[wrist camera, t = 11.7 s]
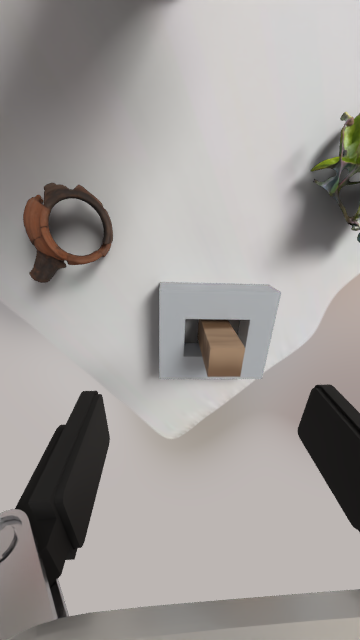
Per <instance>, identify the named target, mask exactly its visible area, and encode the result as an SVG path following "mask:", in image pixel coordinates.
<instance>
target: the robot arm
mask: <svg viewBox="0 0 360 640" xmlns="http://www.w3.org/2000/svg"><path fill="white" fill-rule="evenodd" d="M298 435H299V437H300V439H301V441H302V443H303V444H304V446H305V448H306V449H307V451H308V453H309V454H310V456H311V458H312V459H313V461H314V463H315V464H316V466H317V468H318V469H319V471H320V473H321V474H322V476H323V478H324V479H325V481H326V483H327V484H328V486H329V488H330V489H331V491H332V493H333V494H334V496H335V498H336V499H337V501H338V503H339V504H340V506H341V508H342V509H343V511H344V513H345V515H346V516H347V518H348V520H349V521H350V523H351V524H352V526H353V527H354V528H356V529H358V530H359V532H360V413H359V412H358V411H357V410H356V409H355V408H354V407H353V406H352V405H351V404H350V403H349V402H348V401H347V400H346V399H345V398H344V397H343V396H342V395H341V394H340V393H339V392H338V391H337V390H336V389H335V387H333V386H332V385H316V386H315V387H314V388H313V389H312V390H311V393H310V396H309V399H308V401H307V404H306V407H305V410H304V413H303V415H302V418H301V421H300V424H299V427H298ZM109 440H110V438H109V431H108V425H107V420H106V414H105V409H104V404H103V397H102V395H101V394H98V392H97V391H83V392H82V393H81V395H80V397H79V399H78V401H77V403H76V405H75V407H74V409H73V411H72V413H71V415H70V417H69V419H68V421H67V423H66V425H60V426H59V427H58V428H57V429H56V431H55V433H54V435H53V437H52V439H51V441H50V442H49V445H48V447H47V448H46V450H45V452H44V454H43V456H42V458H41V460H40V462H39V464H38V466H37V468H36V469H35V471H34V473H33V475H32V477H31V479H30V481H29V483H28V485H27V487H26V489H25V491H24V493H23V495H22V496H21V498H20V500H19V502H18V504H17V506H16V508H15V509H11V510H8V511H4V512H2V513H0V640H360V589H358V590H344V591H332V592H331V591H330V592H317V593H306V594H292V595H279V596H267V597H255V598H243V599H230V600H218V601H206V602H194V603H184V604H171V605H160V606H148V607H138V608H129V609H120V610H111V611H102V612H93V613H86V614H81V615H75V616H70V617H69V615H68V611H67V608H66V604H65V601H64V598H63V594H62V591H61V587H60V584H59V581H58V578H59V576H60V575H61V573H62V570H63V566H64V563H65V560H71V559H75V555H76V552H77V548H81V547H82V546H83V543H84V541H85V537H86V533H87V529H88V525H89V521H90V517H91V513H92V509H93V505H94V502H95V497H96V494H97V489H98V486H99V482H100V478H101V474H102V470H103V466H104V462H105V458H106V454H107V450H108V446H109Z"/></svg>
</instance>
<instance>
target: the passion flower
mask: <svg viewBox="0 0 360 640" xmlns="http://www.w3.org/2000/svg"><path fill="white" fill-rule="evenodd" d="M341 120H342V121H343V120H345V121H346V123H345V124H344V126H343V128H342V130H341V138H340V152H339V157H334V158H331V159H327V160H324V161H322V162H320V163H319V164H317V165H316V166H315V167H314V168H313V169H312V170H311V172H312V171H315V170H320V169H325V168H331V169H334V170H336V173H337V175H336V176H335V177H330V178H329V179H328V180H326V181H324V182H319V181H317V180H315V179H314V181H313V182H315V183H317V184H318V185H320V186H322V187H323V188H325V189H326V190H328V193H329V195H330V196H332V197H334V198H335V199H336V201H337V203H338V204H339V206H340V208H341V210H342V212H343V214H344V218H345V219H346V221H347V223H348V224H350V225H352V228H351V229H352V230H354V231H357V230H360V201H359V208H358V211H357V213H356V214H355V215H354V216H353V217H349V216H348V215H347V213H346V209H345V207H344V206H343V204H342V202H341V200H340V198H339V192H340V190H341V188H342V187H343V186H346V185H351V184H358V183H360V182H349V178H350V177H351V176H352V175H354V174H355V173H357V172H360V114H359V115H358V116H357V117H356V118H355V119H353V117H351V116H350V115H348V113H347V112H345V113H343V115H342V116H341ZM345 125H346V126H347V127H346V128H345ZM344 128H345V129H344ZM343 149H344V151H343ZM343 152H344V157H342V153H343ZM345 168H347V170H348V171H349V172H348V175H347V177H346V178H345V179H344V180H343V181H342V182H341V183H339V178H340V173H341V171H342V170H343V169H345ZM357 240H358V241H359V242H360V233H359V234H358V237H357Z"/></svg>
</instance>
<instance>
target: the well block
mask: <svg viewBox="0 0 360 640" xmlns="http://www.w3.org/2000/svg"><path fill="white" fill-rule="evenodd" d="M280 296H281V292H280V291H278V290H277V289H275V288H273V287H272V286H270V285H261V284H218V283H175V282H160V288H159V379H262V376H263V372H264V367H265V363H266V358H267V354H268V349H269V345H270V340H271V336H272V331H273V327H274V322H275V318H276V314H277V309H278V305H279V300H280ZM185 319H230V320H240V322H239V329H238V335H237V336H238V337H239V339H240V340H241V342H242V344H243V345H244V347H245V353H244V359H243V364H242V370H241V376H240V377H208V376H207V372H206V369H205V365H204V361H203V357H202V354H201V350H200V346H199V343H184V335H185Z"/></svg>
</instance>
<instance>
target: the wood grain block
mask: <svg viewBox="0 0 360 640" xmlns="http://www.w3.org/2000/svg"><path fill="white" fill-rule="evenodd" d="M197 338H198V342H199V346H200V350H201V354H202V357H203V361H204V365H205V369H206V372H207V376H208V377H240V376H241V370H242V364H243V359H244V353H245V347H244V345H243V344H242V342H241V340H240V339H239V337H238V336H237V334H236V332H235V331H234V329H233V328H232V326H231V325H230V323H229V321H228V320H227V319H199V322H198V336H197Z"/></svg>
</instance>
